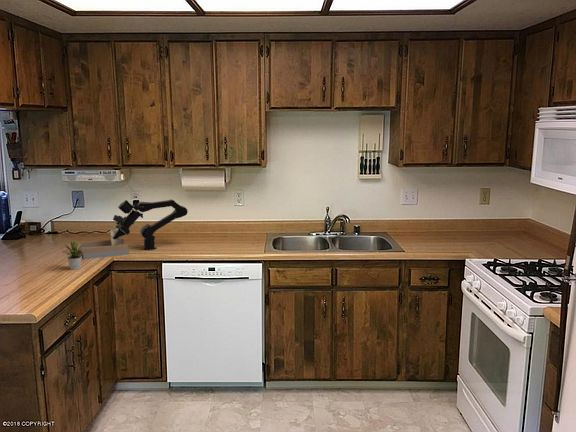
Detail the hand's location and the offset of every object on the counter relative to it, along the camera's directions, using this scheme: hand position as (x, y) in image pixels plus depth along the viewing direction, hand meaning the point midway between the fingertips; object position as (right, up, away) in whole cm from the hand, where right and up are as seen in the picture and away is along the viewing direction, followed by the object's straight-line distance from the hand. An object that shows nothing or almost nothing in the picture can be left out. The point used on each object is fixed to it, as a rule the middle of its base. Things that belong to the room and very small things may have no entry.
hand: (113, 237), depth 297 cm
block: (+1, -4, +1) cm, 5 cm away
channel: (-5, -9, -1) cm, 10 cm away
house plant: (-10, -15, -33) cm, 37 cm away
